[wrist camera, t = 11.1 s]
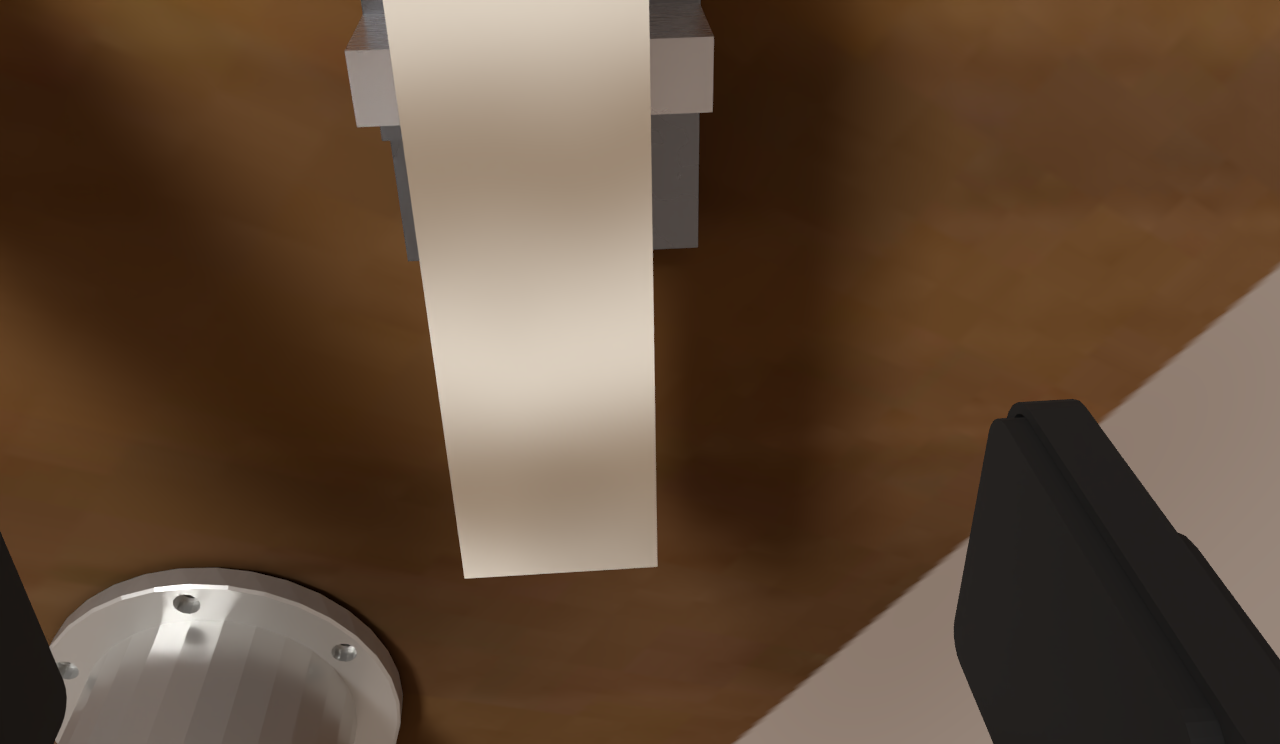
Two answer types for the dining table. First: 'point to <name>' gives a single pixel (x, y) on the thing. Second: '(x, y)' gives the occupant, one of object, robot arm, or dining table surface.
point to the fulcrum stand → (674, 111)
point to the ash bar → (536, 271)
